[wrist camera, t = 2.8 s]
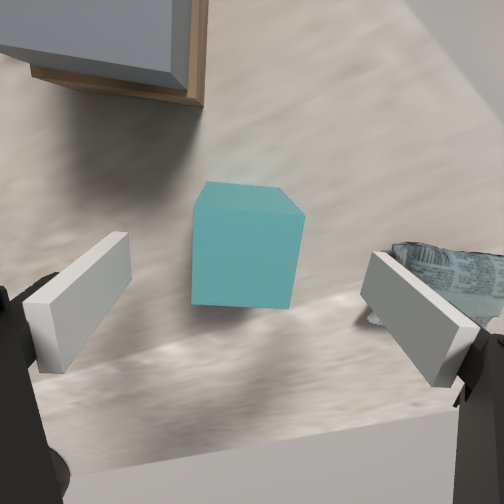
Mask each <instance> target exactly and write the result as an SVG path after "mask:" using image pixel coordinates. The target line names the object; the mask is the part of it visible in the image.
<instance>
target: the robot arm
mask: <svg viewBox="0 0 504 504" xmlns="http://www.w3.org/2000/svg"><path fill="white" fill-rule="evenodd" d="M131 280H132V276H131V262H130V247H129V233H128V232H116V231H113V232H112V233H110V234H109V235H108V236H106V237H105V238H104V239H103V240H101V241H100V242H99V243H97V244H96V245H95V246H94V247H92V248H91V249H90V250H89V251H87V252H86V253H85V254H83V255H82V256H81V257H80V258H78V259H77V260H76V261H74V262H73V263H72V264H71V265H69V266H68V267H67V268H65V269H64V270H63V271H62V272H54V273H52V274H50V275H47V276H45V277H42V278H41V279H40V280H38V281H37V282H35V283H34V284H33V286H30V287H29V288H27V289H26V290H25V292H22V293H20V294H19V295H18V296H16V297H15V298H14V299H12V300H11V301H9V297H8V294H7V290H6V288H5V287H4V286H0V504H63V500H62V498H63V496H64V494H65V492H66V490H67V488H68V485H69V482H70V474H69V470H68V468H67V466H66V464H65V462H64V461H63V460H62V459H61V457H60V456H59V455H58V454H56V453H55V452H54V451H53V450H51V449H50V448H49V447H48V444H47V440H46V436H45V432H44V429H43V425H42V421H41V417H40V414H39V410H38V406H37V402H36V399H35V395H34V391H33V387H32V384H31V380H30V376H29V372H28V368H29V367H30V365H31V364H32V363H33V362H34V361H35V360H36V361H37V365H38V369H39V373H54V374H64V373H65V371H66V370H67V368H68V367H69V366H70V364H71V363H72V362H73V360H74V359H75V357H76V356H77V355H78V353H79V352H80V350H81V349H82V348H83V346H84V345H85V344H86V342H87V341H88V339H89V338H90V337H91V335H92V334H93V333H94V331H95V330H96V328H97V327H98V326H99V324H100V323H101V321H102V320H103V319H104V317H105V316H106V315H107V313H108V312H109V310H110V309H111V308H112V306H113V305H114V304H115V302H116V301H117V299H118V298H119V297H120V295H121V294H122V292H123V291H124V290H125V288H126V287H127V286H128V284H129V283H130V281H131ZM360 295H361V296H362V297H363V299H364V300H365V301H366V303H367V304H368V305H369V306H370V308H371V309H372V310H373V312H374V313H375V314H376V316H377V317H378V318H379V319H380V321H381V322H382V323H383V325H384V326H385V327H386V329H387V330H388V331H389V332H390V334H391V335H392V336H393V338H394V339H395V340H396V341H397V343H398V344H399V345H400V347H401V348H402V349H403V351H404V352H405V353H406V354H407V356H408V357H409V358H410V360H411V361H412V362H413V364H414V365H415V366H416V367H417V369H418V370H419V371H420V373H421V374H422V375H423V376H424V378H425V379H426V380H427V382H428V383H429V384H430V386H431V387H444V388H451V386H452V384H453V382H454V380H455V378H456V376H457V375H458V376H459V377H460V378H461V379H462V381H463V382H464V383H465V384H464V386H463V387H462V389H461V391H460V393H459V395H458V397H457V399H456V401H455V403H454V405H453V407H455V408H457V406H458V405H460V406H459V420H458V435H457V449H456V464H455V478H454V492H453V504H504V335H502V334H490V333H489V332H488V331H486V330H485V329H484V328H482V327H481V326H480V325H479V324H477V323H476V322H475V321H474V320H472V319H471V318H470V317H467V315H466V314H465V313H463V312H462V311H460V309H458V308H457V307H456V306H454V305H453V304H452V303H451V302H449V301H447V300H445V299H444V298H442V297H441V296H440V295H439V294H437V293H436V292H435V291H433V290H432V289H431V288H430V287H428V286H427V285H426V284H425V283H423V282H422V281H421V280H420V279H418V278H417V277H416V276H415V275H413V274H412V273H411V272H410V271H408V270H407V269H406V268H404V267H403V266H402V265H401V264H399V263H398V262H397V261H396V260H394V259H393V258H392V257H391V256H389V255H388V254H387V253H386V252H373V251H372V254H371V258H370V261H369V265H368V268H367V272H366V275H365V279H364V282H363V286H362V289H361V293H360Z"/></svg>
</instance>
